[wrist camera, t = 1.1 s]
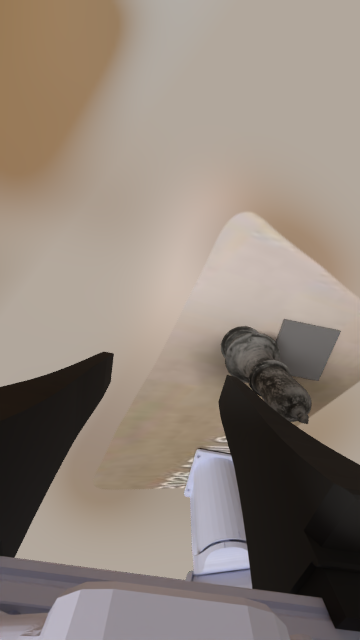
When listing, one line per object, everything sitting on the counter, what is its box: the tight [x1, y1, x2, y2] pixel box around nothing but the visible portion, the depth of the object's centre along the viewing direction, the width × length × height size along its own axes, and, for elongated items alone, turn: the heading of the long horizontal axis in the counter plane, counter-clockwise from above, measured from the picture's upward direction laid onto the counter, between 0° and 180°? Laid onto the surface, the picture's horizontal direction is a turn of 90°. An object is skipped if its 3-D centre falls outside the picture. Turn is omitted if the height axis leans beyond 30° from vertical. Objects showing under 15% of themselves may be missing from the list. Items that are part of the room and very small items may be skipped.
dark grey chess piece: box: [221, 326, 311, 424], centre depth 16 cm, size 6×6×12 cm
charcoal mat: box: [276, 319, 341, 381], centre depth 22 cm, size 7×7×1 cm
